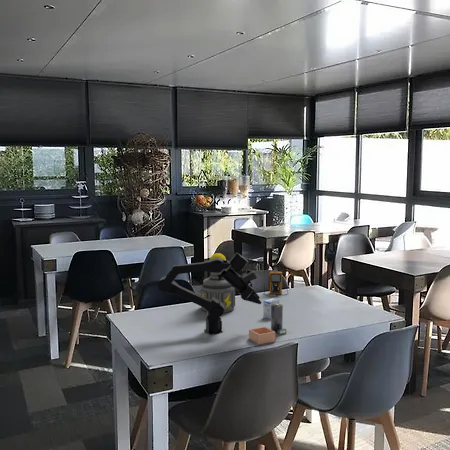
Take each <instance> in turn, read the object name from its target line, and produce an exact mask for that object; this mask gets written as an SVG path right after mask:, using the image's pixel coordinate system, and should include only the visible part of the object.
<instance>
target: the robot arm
mask: <svg viewBox="0 0 450 450" xmlns="http://www.w3.org/2000/svg"><path fill="white" fill-rule="evenodd" d="M248 263H249V261H248V260H247V258H245V257H244V256H243V255H241V254H240V253H238V252H236V253H235V254H234V255H233V257H231V259H230V260H229V259H228V260H227V259H226V260H222V259H220V258H214V259H211V260H210V259H209V260H208V259H207V260H205V261H201V262H194V263H193V262H192V263H183V264H174V265H173V266H172V268H171V269H170V270H169V272H168V273H167V274H166V275H164V276H162V277H161V278H160V280H159V281H158V284H157V288H158V290H159V291H160V292H162V293H166V294H170V295H177V296H179V298H182V299H185V300H187V301H189V302H191V303H193V304H196V305H198V306H200V307H201V308H202V307H203V308H205V309H206V310H207V312H206V318H205V329H204V332H206V333H207V334H209V335H215V334H221V333H224V332H223V320H222V318H221V316H223V315H224V314H225V313H224V305H223V303H222V302H221V300H218V299H216V298H214V297H212V299H207V298H205V297H202V296H201V294H198V293H196V292H194V291H192V290H189V289H187V288H186V287H183V286H181V285H179V283H177V282H176V281H175V279H176V278H177V276H178V275H180V274H191V273H200V272H208V273H211V272H215V273H219V272H221V271H222V270H223V269H224V270H223V271H222V272H221V273H220V274H218V280H219V281H220V280H221V278H224V279H225V280H226V281H227V282H228V283H229V284H231V285H232V287H234V288H235V290H236V291H238V293H239V294H240V298H241V299H242V300H243V301H246V302H250V303H253V304H257V305H261V304H263V303H262V301H261V300H260V299H261V298H260V295H258V293H257V292H256V290H255V289H254V287H253V282H252V281H254V280H256V279H257V278H258V276H257V274H256V272H255V270H250V269H247V270H246V272H245V274H244V275H242V274H239V273H238V272H241V271H242V270H243V269H244V268H245V267H246V266H247V264H248Z"/></svg>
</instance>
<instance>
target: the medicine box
mask: <svg viewBox="0 0 450 450" xmlns="http://www.w3.org/2000/svg"><path fill="white" fill-rule="evenodd" d="M262 304H263V312H262V314H263V315H262V317H263V318H264V319H271V305H272V304H280V299H278V298H274V297H272V298H270V299H266V300H263V303H262Z"/></svg>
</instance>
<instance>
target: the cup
mask: <svg viewBox="0 0 450 450" xmlns="http://www.w3.org/2000/svg"><path fill="white" fill-rule="evenodd" d="M248 340H251V341H253V342H254V343H256V344H257V345H261V344H267V343H273V342H276V336H275V332H274V331H272V330H271V329H269V328H268V327H267V326H262V327H256V328H250V329H248Z"/></svg>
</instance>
